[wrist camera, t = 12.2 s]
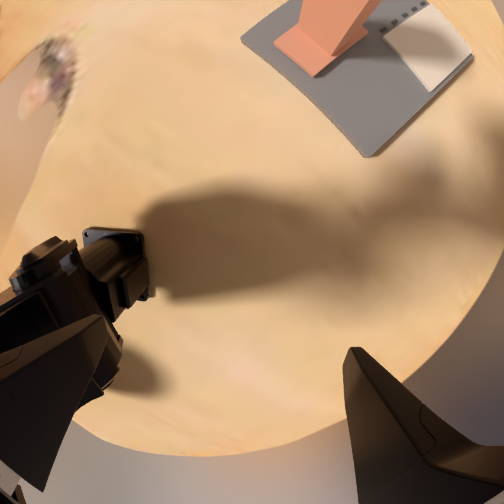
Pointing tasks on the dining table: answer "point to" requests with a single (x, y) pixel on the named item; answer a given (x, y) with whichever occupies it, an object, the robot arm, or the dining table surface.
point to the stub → (325, 32)
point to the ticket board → (372, 67)
